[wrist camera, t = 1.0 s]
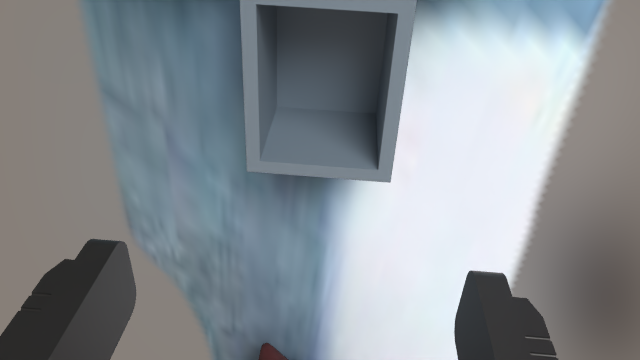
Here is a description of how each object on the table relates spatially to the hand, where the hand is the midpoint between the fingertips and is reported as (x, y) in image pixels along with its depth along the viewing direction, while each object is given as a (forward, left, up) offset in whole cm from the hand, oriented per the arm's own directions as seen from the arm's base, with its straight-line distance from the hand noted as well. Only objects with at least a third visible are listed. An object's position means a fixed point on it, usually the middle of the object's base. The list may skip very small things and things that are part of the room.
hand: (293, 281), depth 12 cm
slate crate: (0, 0, -16) cm, 16 cm away
